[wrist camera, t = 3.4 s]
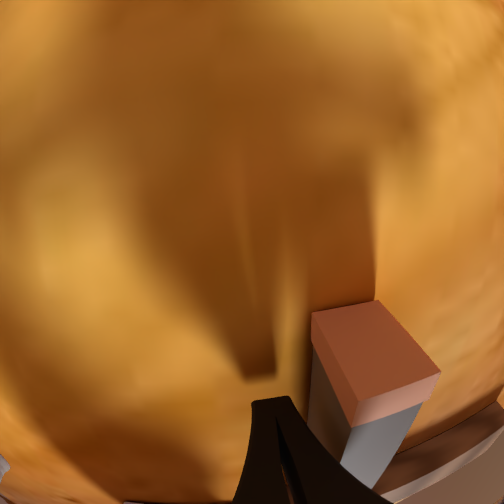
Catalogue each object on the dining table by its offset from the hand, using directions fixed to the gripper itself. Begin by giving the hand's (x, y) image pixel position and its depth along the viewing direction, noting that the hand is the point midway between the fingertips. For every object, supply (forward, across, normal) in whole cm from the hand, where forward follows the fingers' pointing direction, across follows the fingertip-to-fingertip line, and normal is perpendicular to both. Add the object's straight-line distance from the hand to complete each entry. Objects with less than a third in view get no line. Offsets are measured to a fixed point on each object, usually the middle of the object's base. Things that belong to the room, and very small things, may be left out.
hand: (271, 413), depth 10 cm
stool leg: (+1, -3, +4) cm, 5 cm away
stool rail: (+1, -11, +13) cm, 17 cm away
